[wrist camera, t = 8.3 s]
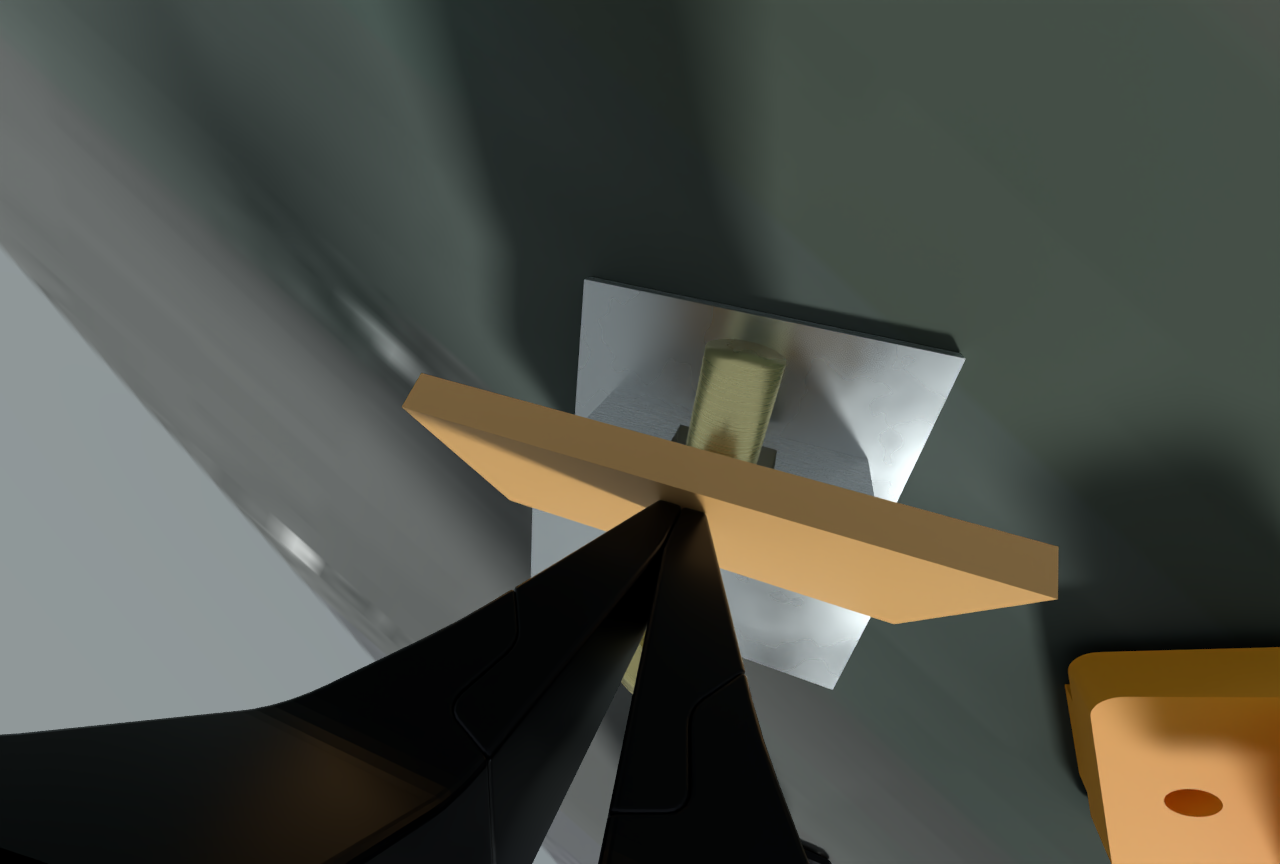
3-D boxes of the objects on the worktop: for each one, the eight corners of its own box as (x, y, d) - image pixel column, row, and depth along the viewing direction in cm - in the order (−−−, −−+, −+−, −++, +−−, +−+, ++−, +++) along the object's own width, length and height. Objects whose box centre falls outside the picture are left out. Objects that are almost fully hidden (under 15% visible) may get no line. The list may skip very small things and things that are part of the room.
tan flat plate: (895, 582, 13) (889, 628, 12) (529, 471, 15) (513, 506, 14) (1074, 519, 7) (1075, 604, 6) (424, 349, 9) (392, 404, 8)
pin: (745, 621, 23) (726, 736, 18) (633, 582, 24) (587, 681, 19) (839, 346, 16) (847, 415, 12) (677, 311, 18) (625, 361, 13)
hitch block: (855, 575, 21) (870, 733, 15) (574, 489, 24) (492, 593, 18) (960, 352, 16) (1044, 456, 10) (590, 276, 19) (484, 322, 13)
